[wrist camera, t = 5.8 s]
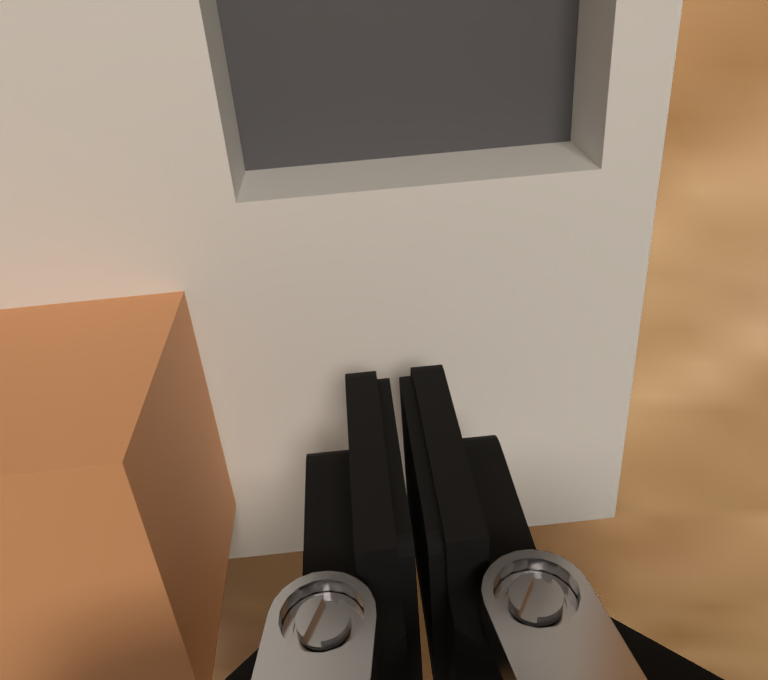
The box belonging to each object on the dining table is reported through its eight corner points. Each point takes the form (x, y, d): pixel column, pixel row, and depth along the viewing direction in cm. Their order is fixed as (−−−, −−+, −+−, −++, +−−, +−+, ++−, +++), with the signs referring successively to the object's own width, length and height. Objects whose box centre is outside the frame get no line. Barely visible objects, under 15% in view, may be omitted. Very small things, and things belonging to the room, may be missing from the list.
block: (184, 291, 12) (122, 463, 8) (236, 505, 15) (207, 712, 11) (-111, 320, 12) (-312, 509, 8) (-8, 531, 15) (-124, 750, 11)
